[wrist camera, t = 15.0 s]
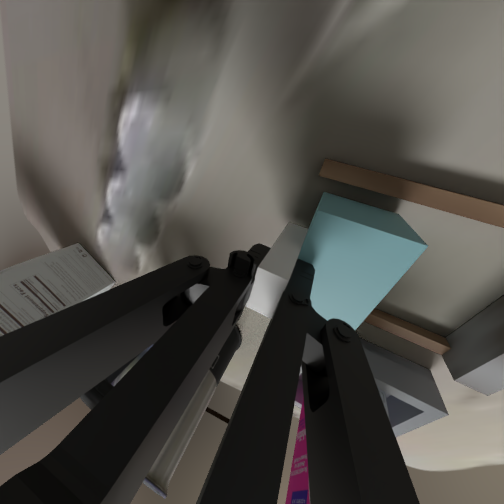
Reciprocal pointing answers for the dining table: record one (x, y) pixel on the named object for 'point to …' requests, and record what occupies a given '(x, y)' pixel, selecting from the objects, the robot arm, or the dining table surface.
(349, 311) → the block
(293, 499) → the supplement box
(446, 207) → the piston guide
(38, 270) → the supplement box
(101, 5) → the dining table surface
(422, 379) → the tray
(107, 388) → the milk frother
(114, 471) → the robot arm
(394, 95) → the dining table surface
